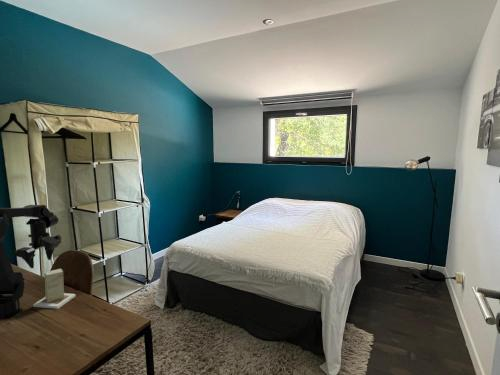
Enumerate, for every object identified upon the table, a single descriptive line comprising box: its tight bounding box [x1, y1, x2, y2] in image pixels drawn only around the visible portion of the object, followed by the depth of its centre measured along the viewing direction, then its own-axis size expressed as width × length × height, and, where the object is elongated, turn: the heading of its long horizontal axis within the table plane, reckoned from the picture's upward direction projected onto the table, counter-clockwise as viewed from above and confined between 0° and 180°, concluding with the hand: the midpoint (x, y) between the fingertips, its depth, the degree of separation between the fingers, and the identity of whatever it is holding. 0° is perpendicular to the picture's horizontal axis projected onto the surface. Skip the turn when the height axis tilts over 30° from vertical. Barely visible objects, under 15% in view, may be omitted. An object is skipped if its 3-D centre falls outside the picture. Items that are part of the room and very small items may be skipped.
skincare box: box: [43, 268, 65, 302], centre depth 116 cm, size 6×4×12 cm
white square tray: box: [33, 292, 76, 310], centre depth 117 cm, size 10×11×1 cm
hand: (41, 263), depth 126 cm, fingers open, 9 cm apart
